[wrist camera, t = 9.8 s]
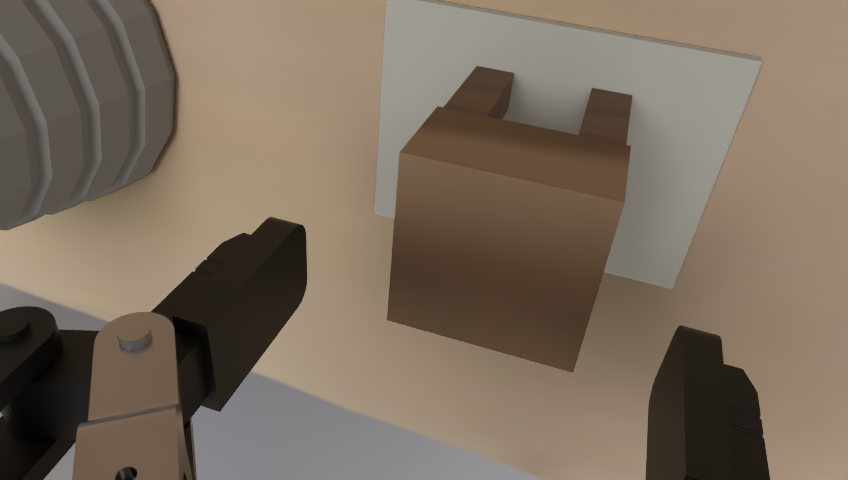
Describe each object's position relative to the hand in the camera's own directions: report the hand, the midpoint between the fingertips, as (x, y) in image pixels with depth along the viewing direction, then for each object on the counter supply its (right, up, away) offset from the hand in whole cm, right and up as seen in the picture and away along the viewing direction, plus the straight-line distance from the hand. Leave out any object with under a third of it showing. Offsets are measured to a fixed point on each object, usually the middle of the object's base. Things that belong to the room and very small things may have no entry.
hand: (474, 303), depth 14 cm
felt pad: (+3, +4, +8) cm, 9 cm away
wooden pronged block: (+3, +4, +7) cm, 9 cm away
